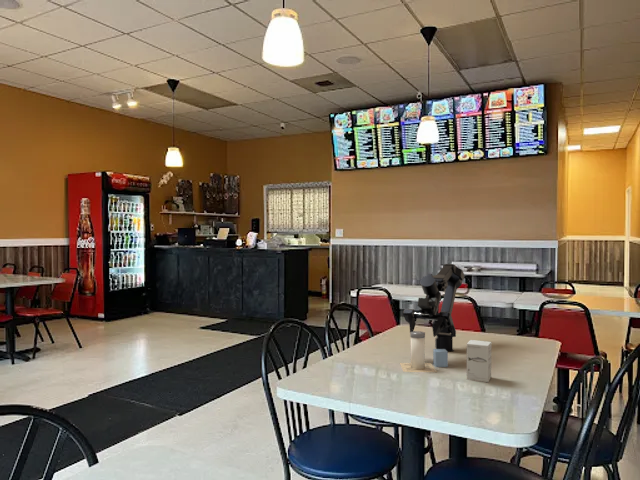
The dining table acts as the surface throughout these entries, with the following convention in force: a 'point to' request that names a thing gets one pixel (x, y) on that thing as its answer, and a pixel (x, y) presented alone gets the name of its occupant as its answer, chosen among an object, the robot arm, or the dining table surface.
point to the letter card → (407, 368)
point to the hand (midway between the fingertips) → (422, 334)
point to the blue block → (440, 357)
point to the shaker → (417, 349)
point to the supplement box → (479, 360)
